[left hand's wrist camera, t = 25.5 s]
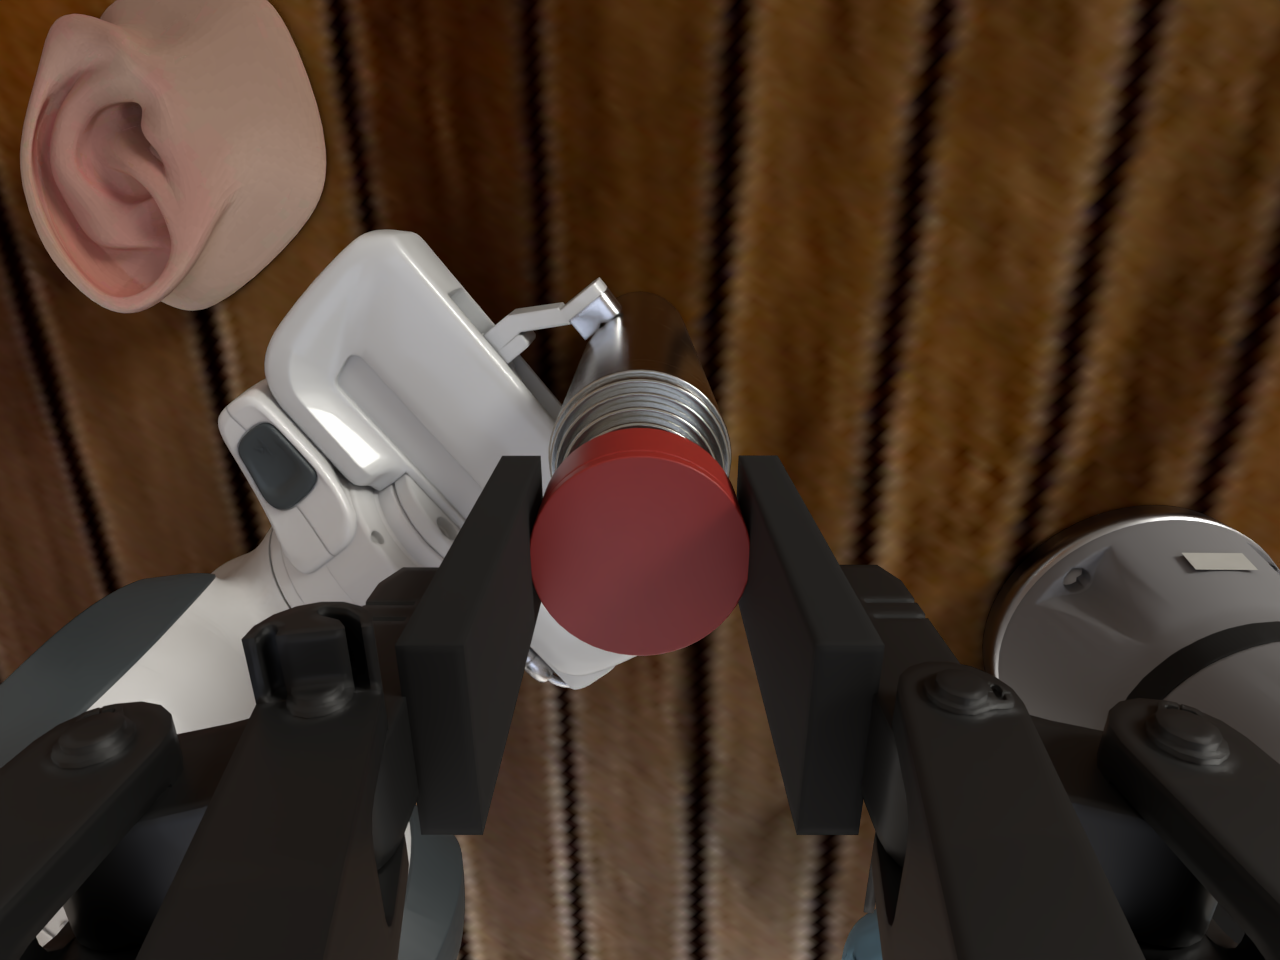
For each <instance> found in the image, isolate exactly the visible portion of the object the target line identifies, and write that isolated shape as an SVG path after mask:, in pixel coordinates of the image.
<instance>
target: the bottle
mask: <svg viewBox="0 0 1280 960" xmlns="http://www.w3.org/2000/svg"><path fill="white" fill-rule="evenodd" d="M616 299H617V301H618V302H619V303H620V305H621V306H622V308H621V309H622V310H621V311H620V312H619V313H618V314H617V315H616V316H615V317H614V318H613V319H611V320H610V321H608V322H605V323H601V324H600V327H599V329H598V330H597V331H596V332H595V333H594V334H593V335H591V336H590V338H589V340H588V343H587V345H586V348H585V350H584V353H583V355H582V358H581V360H580V363H579V365H578V368H577V370H576V373H575V375H574V377H573V380H572V382H571V385H570V387H569V390H568V392H567V395H566V397H565V400H564V402H563V405H562V407H561V410H560V412H559V415H558V417H557V420H556V422H555V425H554V428H553V431H552V434H551V438H550V443H549V455H548V459H549V469H550V476H551V478H552V476H553V474H554V472H555V471H556V470H557V468H558V467H559V466H560V464H561V463H562V462H563V461H564V460H565V459H566V458H567V457H568V456H569V455H570V454H571V453H572V452H573V451H575V450H576V449H577V448H579V447H580V446H581V445H583V444H584V443H586V442H588V441H590V440H592V439H593V438H596V437H598V436H601V435H603V434H606V433H609V432H613V431H617V430H621V429H630V428H650V429H658V430H663V431H667V432H671V433H674V434H677V435H679V436H682V437H684V438H687V439H688V440H690V441H692V442H694V443H695V444H697V445H699V446H700V447H701V448H703V449H704V450H705V451H707V452H708V453H709V454H710V455H711V456H712V457H713V458H714V459H715V460H716V461H717V462H718V463H719V465H720V466H721V467H722V469H723V470H724V471H725V473H726V475H727V476H728V478H729V473H730V466H731V445H730V438H729V435H728V431H727V428H726V425H725V423H724V420H723V418H722V415H721V413H720V411H719V408H718V406H717V403H716V401H715V398H714V396H713V393H712V391H711V388H710V386H709V383H708V381H707V378H706V376H705V373H704V371H703V369H702V366H701V364H700V361H699V359H698V356H697V354H696V351H695V349H694V346H693V344H692V341H691V339H690V336H689V334H688V331H687V329H686V327H685V324H684V322H683V319H682V317H681V315H680V314H679V312H678V311H677V310H676V308H675V307H674V306H673V305H672V304H671V303H670V302H668V301H667V300H666V299H664V298H662V297H660V296H658V295H656V294H653V293H648V292H632V293H627V294H624V295H621V296H619V297H617V298H616Z"/></svg>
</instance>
